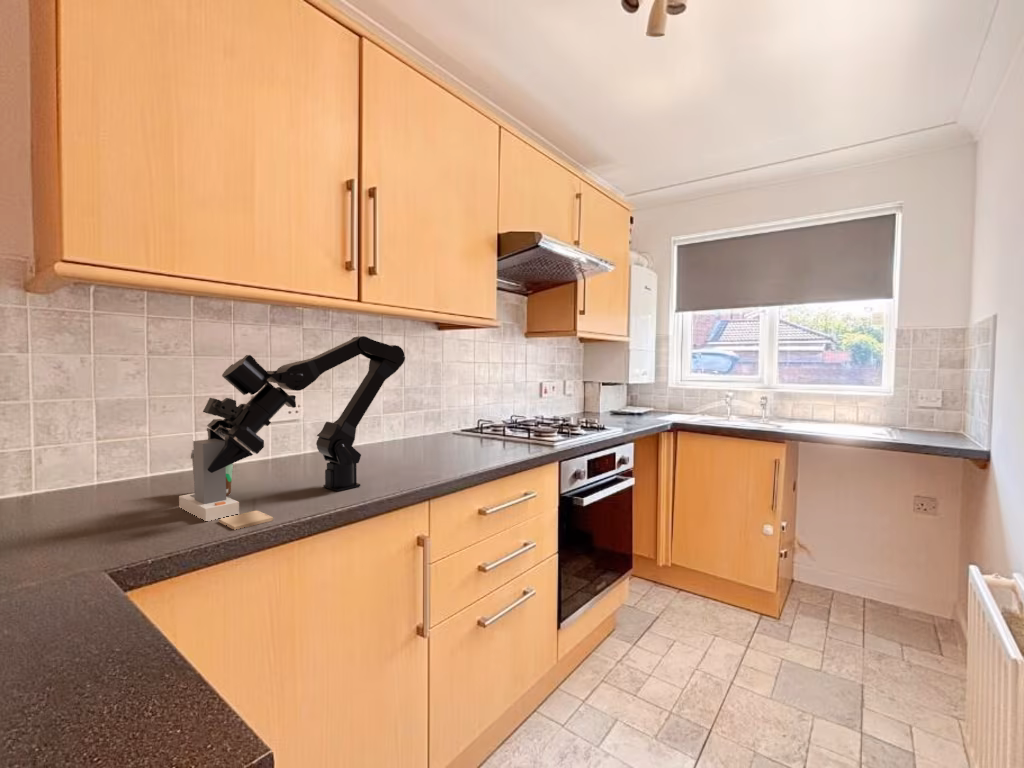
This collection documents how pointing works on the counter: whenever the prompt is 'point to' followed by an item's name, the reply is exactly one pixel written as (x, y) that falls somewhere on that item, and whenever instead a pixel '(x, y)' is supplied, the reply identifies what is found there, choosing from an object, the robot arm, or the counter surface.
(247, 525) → the cork mat
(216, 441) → the brick
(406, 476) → the counter surface
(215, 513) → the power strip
